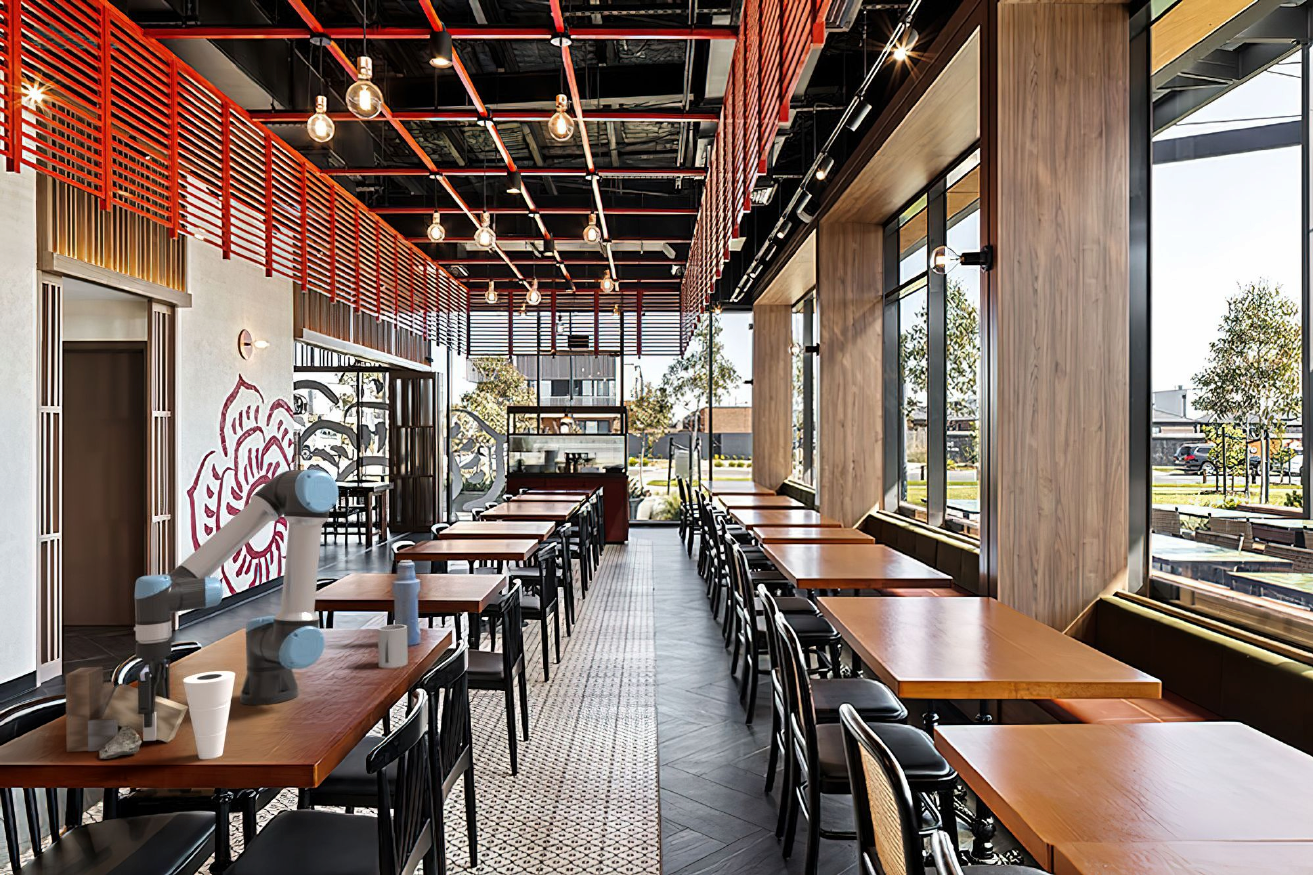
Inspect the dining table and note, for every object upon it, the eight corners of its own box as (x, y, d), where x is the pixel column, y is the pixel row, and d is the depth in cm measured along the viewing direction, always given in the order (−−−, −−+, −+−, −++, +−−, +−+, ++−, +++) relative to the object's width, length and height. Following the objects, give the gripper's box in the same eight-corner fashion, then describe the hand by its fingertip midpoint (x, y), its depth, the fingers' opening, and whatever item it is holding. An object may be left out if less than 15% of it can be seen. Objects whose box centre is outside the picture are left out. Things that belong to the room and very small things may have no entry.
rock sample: (82, 741, 201) (116, 711, 204) (104, 753, 206) (136, 724, 210) (100, 768, 195) (135, 737, 199) (122, 780, 201) (155, 749, 204)
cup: (407, 659, 289) (406, 623, 290) (408, 666, 281) (407, 628, 281) (378, 662, 286) (377, 626, 287) (378, 669, 278) (378, 631, 278)
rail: (173, 738, 213) (188, 706, 214) (167, 742, 209) (182, 710, 211) (106, 714, 211) (121, 683, 212) (98, 718, 207) (114, 686, 208)
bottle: (395, 641, 318) (393, 559, 318) (423, 640, 319) (421, 558, 319) (390, 647, 308) (388, 562, 309) (418, 646, 309) (417, 561, 310)
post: (146, 727, 222) (145, 656, 223) (115, 749, 206) (114, 672, 206) (99, 730, 221) (98, 659, 221) (65, 752, 204) (64, 675, 204)
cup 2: (195, 767, 193) (193, 685, 193) (177, 756, 200) (175, 678, 200) (244, 754, 201) (243, 675, 201) (225, 744, 208) (223, 668, 208)
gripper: (152, 633, 220) (153, 725, 219) (120, 648, 202) (121, 749, 202) (184, 631, 221) (185, 723, 220) (154, 647, 203) (156, 747, 203)
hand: (154, 736), depth 211 cm, fingers open, 5 cm apart
